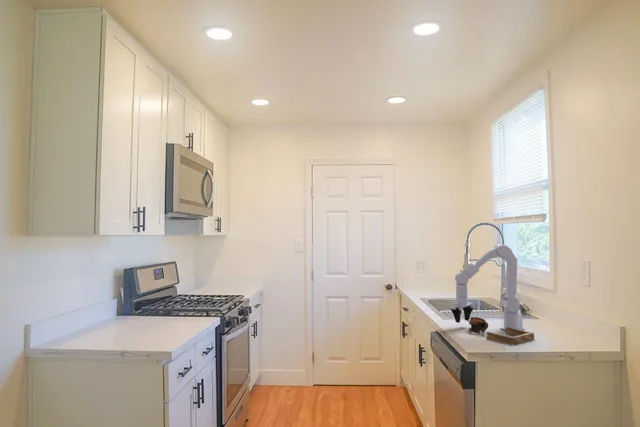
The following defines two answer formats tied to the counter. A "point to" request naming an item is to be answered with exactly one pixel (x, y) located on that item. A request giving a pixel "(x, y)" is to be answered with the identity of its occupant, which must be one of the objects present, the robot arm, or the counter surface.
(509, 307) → the robot arm
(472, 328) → the pottery mug
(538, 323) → the counter surface
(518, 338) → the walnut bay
